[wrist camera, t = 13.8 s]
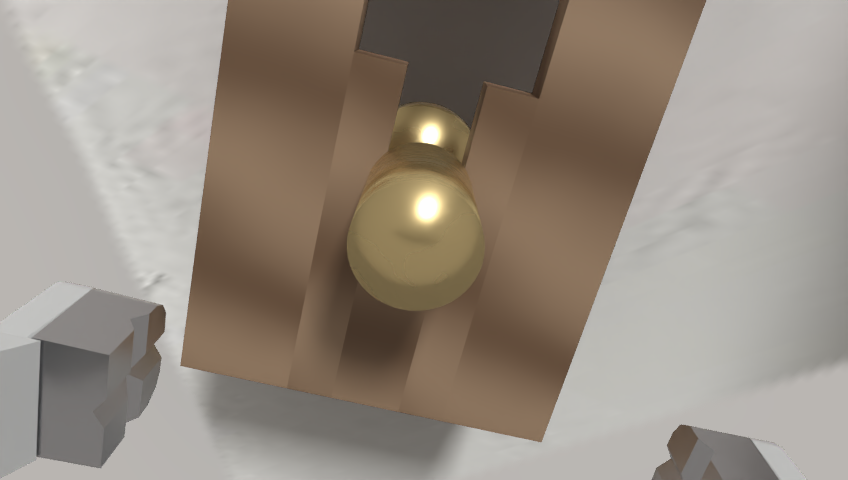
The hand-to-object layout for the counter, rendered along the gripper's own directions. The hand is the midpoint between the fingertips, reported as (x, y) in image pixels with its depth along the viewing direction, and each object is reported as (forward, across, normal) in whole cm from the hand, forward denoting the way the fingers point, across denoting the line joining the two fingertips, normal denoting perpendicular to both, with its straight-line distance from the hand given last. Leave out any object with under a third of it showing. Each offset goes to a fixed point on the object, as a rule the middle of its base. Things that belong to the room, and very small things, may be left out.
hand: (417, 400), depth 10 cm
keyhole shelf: (+22, +1, -3) cm, 22 cm away
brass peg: (+17, 0, 0) cm, 17 cm away
